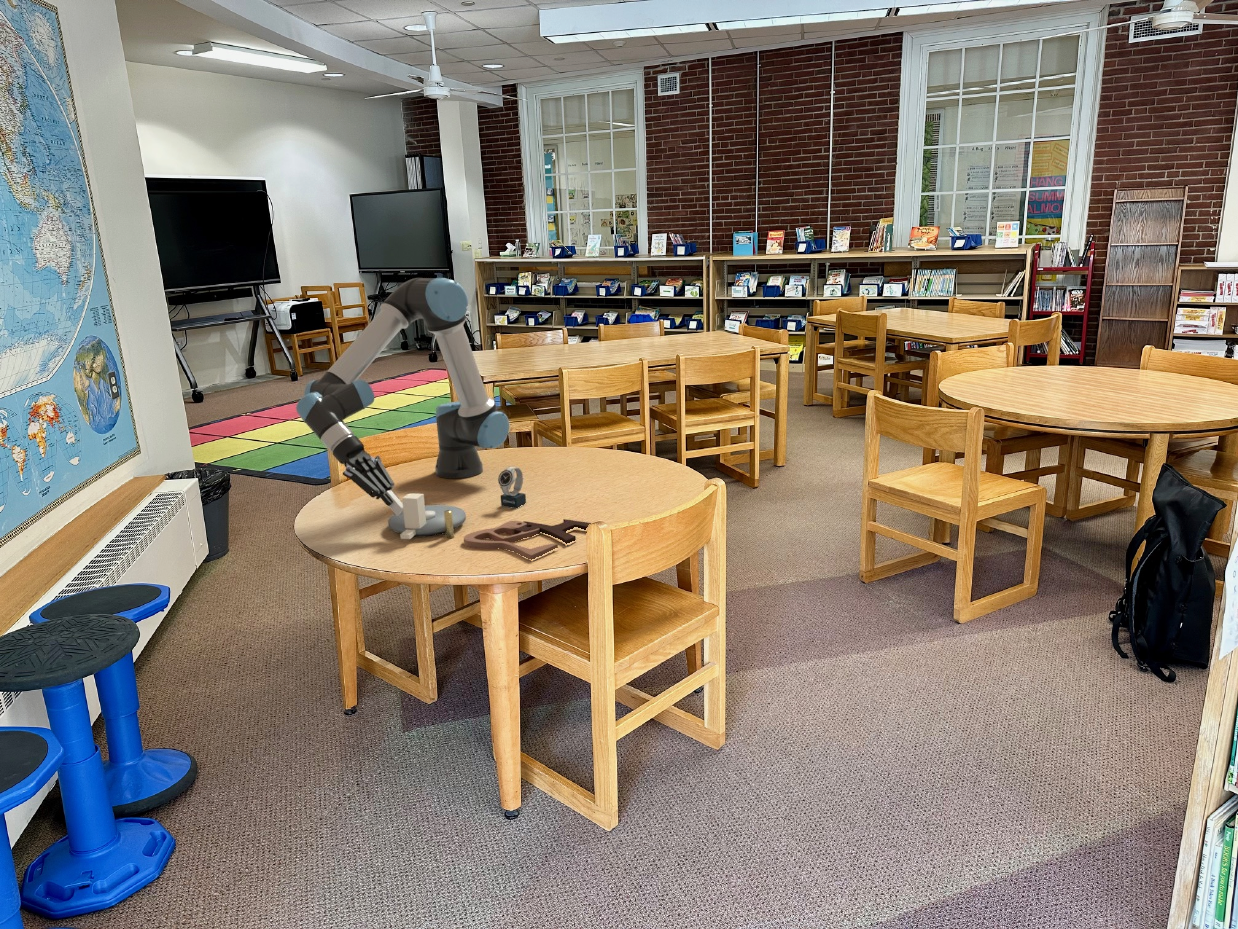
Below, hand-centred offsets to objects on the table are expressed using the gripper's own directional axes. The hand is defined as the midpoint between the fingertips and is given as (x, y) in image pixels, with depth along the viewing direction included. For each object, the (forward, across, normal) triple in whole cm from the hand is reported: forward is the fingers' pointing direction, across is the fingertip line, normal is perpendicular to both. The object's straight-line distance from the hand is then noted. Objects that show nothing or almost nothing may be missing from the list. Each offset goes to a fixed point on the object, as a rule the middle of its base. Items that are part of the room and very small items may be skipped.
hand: (402, 512), depth 214 cm
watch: (+15, -31, +6) cm, 35 cm away
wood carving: (+27, -9, +18) cm, 34 cm away
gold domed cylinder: (+13, -2, +4) cm, 14 cm away
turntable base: (+6, -8, -3) cm, 10 cm away
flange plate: (+5, -6, -2) cm, 8 cm away
